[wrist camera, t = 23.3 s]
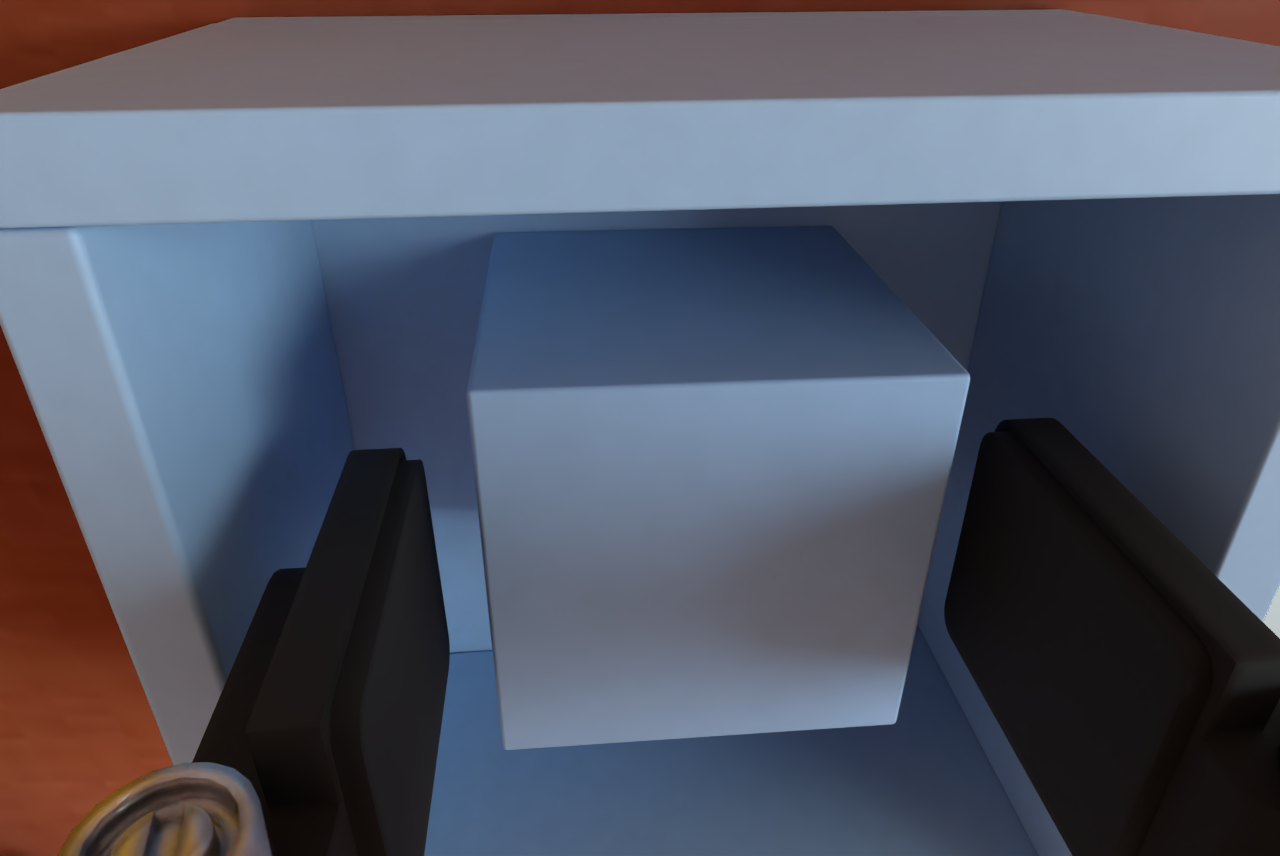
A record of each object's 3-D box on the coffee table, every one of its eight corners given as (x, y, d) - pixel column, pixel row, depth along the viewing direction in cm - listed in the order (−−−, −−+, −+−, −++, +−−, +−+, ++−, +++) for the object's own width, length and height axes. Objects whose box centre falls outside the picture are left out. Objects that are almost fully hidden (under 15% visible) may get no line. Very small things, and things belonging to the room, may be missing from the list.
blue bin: (229, 17, 12) (-90, 115, 6) (1066, 8, 13) (1514, 85, 7) (366, 658, 18) (273, 1030, 12) (932, 622, 18) (1112, 950, 13)
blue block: (493, 230, 13) (464, 392, 8) (833, 224, 13) (973, 374, 9) (515, 515, 15) (501, 752, 11) (800, 502, 16) (897, 726, 11)
